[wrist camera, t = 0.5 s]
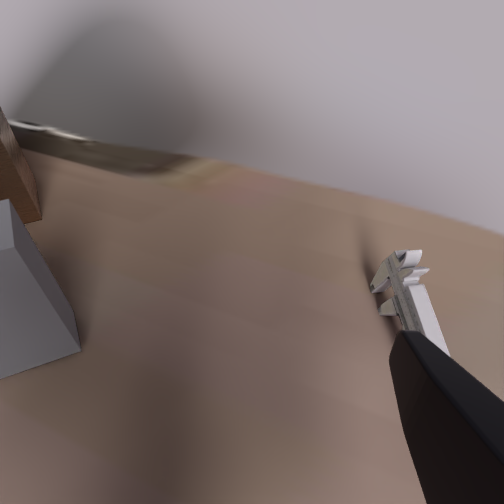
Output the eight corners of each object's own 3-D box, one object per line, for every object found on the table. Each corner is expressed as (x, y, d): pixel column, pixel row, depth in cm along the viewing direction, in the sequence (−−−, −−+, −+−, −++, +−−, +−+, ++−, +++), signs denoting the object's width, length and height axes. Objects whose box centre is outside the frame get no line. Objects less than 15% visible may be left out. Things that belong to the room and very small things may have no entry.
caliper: (366, 289, 29) (395, 233, 24) (380, 287, 29) (412, 231, 24) (531, 693, 17) (657, 745, 12) (553, 687, 17) (687, 734, 12)
